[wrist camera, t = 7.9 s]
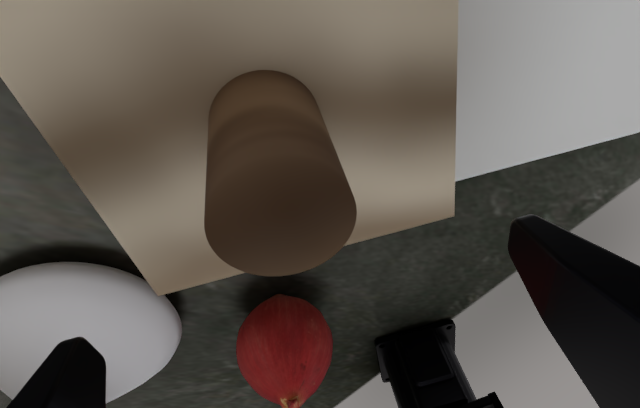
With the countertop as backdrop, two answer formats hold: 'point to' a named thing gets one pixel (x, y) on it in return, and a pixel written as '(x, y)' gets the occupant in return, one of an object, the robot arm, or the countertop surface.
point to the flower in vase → (84, 322)
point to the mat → (543, 79)
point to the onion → (284, 350)
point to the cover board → (169, 75)
